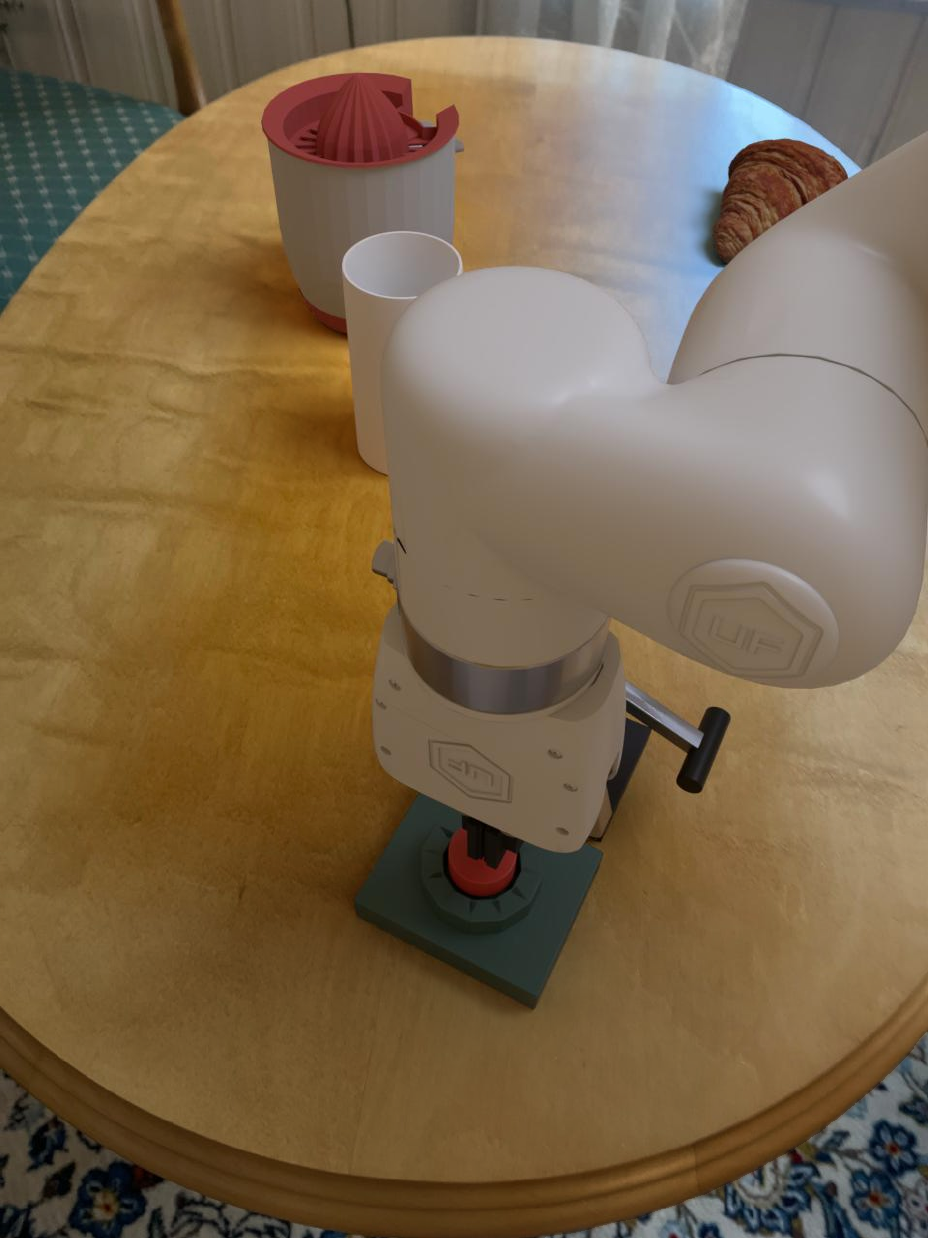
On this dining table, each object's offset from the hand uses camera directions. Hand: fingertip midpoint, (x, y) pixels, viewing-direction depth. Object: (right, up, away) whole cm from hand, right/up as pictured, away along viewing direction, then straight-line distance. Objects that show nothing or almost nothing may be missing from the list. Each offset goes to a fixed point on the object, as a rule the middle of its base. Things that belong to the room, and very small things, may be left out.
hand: (495, 839), depth 49 cm
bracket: (+3, +3, +12) cm, 12 cm away
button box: (-1, -4, +6) cm, 7 cm away
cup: (-6, +25, +29) cm, 39 cm away
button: (-1, -2, +3) cm, 4 cm away
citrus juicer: (-9, +41, +41) cm, 59 cm away
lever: (+7, +7, +4) cm, 10 cm away
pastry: (+31, +52, +51) cm, 78 cm away
